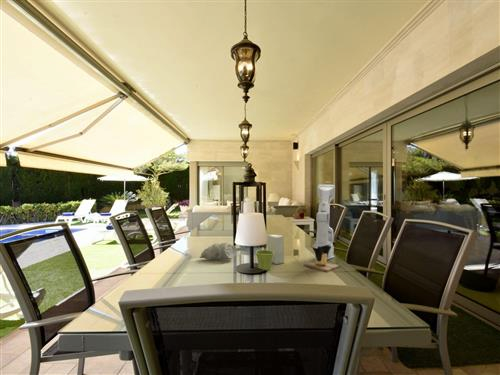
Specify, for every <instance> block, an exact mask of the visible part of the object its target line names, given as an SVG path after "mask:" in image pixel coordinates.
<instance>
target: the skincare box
mask: <svg viewBox="0 0 500 375" xmlns="http://www.w3.org/2000/svg"><path fill="white" fill-rule="evenodd" d="M266 238H267V239H266V240H267V243H266V244H267V250H269V251H273V252H274V254H273V257H272V262H271V264H275V265H278V264H280V265H281V264H284V263H285V242H284V241H285V238H284V235H279V234H267V236H266Z"/></svg>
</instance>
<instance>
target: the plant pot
mask: <svg viewBox="0 0 500 375" xmlns="http://www.w3.org/2000/svg"><path fill="white" fill-rule="evenodd" d="M254 253H255V255H256V258H257V269H258V268H260V269H265V271H270V270H271V267H272V257H273V254H274V252H273V251H269V250H268V249H266V250H265V249H261V250H256V251H255V252H254Z"/></svg>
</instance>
